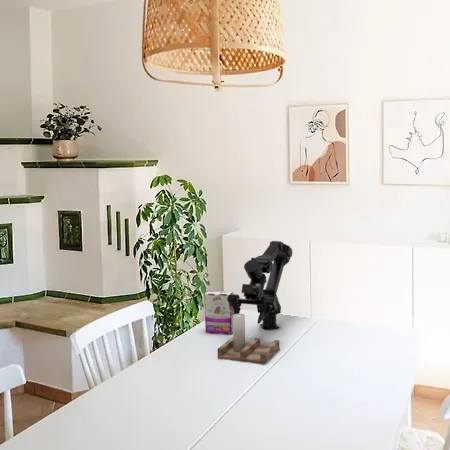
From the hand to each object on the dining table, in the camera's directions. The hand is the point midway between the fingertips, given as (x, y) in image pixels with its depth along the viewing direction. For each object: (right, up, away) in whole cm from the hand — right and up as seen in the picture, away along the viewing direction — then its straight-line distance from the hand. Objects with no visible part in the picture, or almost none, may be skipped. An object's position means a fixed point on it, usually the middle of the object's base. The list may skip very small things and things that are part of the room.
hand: (246, 322), depth 227 cm
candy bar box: (-10, -7, +19) cm, 23 cm away
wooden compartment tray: (+1, -10, -7) cm, 13 cm away
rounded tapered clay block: (-3, -9, -6) cm, 11 cm away
